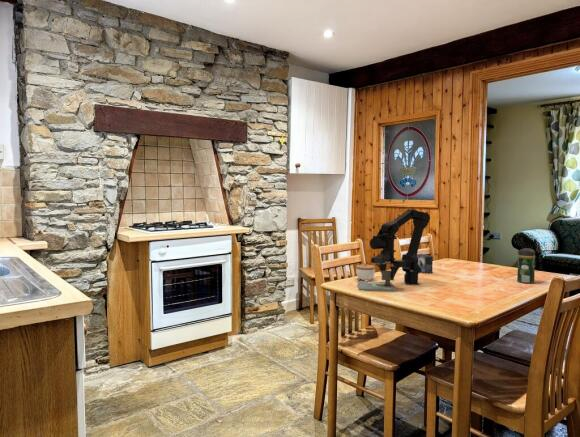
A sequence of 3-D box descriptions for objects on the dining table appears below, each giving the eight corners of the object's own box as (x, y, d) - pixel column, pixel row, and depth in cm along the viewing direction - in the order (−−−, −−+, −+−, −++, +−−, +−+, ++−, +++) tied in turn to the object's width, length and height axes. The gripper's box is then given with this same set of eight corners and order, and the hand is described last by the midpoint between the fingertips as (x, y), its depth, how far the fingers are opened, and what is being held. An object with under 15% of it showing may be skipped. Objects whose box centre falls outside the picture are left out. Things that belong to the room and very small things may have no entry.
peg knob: (393, 284, 216) (393, 270, 215) (394, 285, 212) (394, 271, 211) (367, 283, 218) (367, 269, 217) (367, 285, 214) (368, 270, 213)
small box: (412, 271, 260) (412, 254, 260) (420, 270, 263) (421, 253, 262) (424, 273, 251) (425, 256, 250) (432, 273, 254) (433, 256, 253)
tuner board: (391, 283, 223) (391, 281, 223) (396, 291, 205) (396, 289, 205) (357, 282, 225) (357, 280, 225) (359, 290, 207) (359, 288, 207)
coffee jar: (519, 279, 234) (520, 246, 233) (535, 281, 229) (536, 248, 228) (515, 282, 227) (516, 248, 226) (531, 284, 222) (532, 249, 220)
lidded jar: (353, 280, 231) (353, 263, 230) (359, 277, 240) (359, 261, 240) (371, 282, 226) (372, 265, 225) (377, 279, 235) (377, 262, 235)
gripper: (363, 247, 216) (363, 277, 216) (392, 251, 201) (392, 283, 202) (378, 246, 222) (377, 274, 223) (407, 249, 207) (406, 280, 208)
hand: (387, 278), depth 214 cm, fingers closed on peg knob, 5 cm apart
